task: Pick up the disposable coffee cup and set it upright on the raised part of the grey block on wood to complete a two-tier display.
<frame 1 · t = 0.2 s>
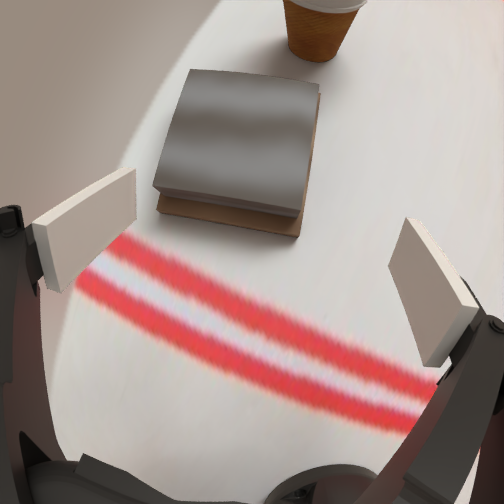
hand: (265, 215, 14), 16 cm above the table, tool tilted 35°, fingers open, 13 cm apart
grey block on wood: (243, 150, 31), on the table
disposable coffee cup: (312, 46, 33), on the table
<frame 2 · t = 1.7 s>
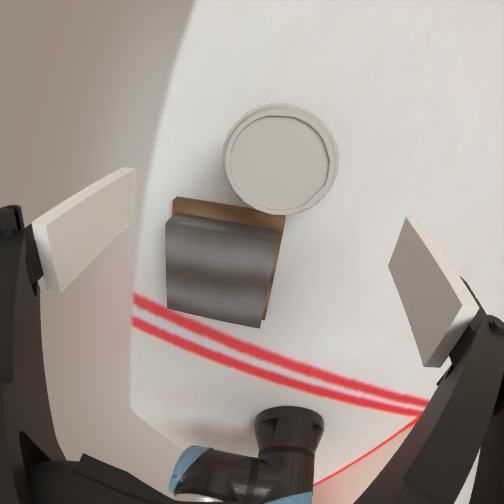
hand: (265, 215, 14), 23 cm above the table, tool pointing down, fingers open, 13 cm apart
grey block on wood: (224, 259, 42), on the table
disposable coffee cup: (286, 141, 34), on the table
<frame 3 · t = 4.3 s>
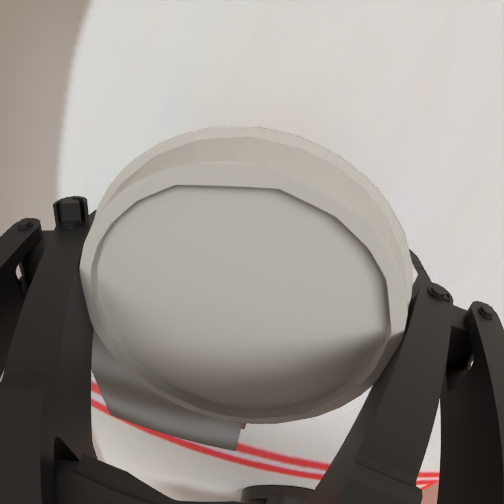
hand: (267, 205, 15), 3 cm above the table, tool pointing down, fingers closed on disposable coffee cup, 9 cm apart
grey block on wood: (181, 360, 27), on the table
disposable coffee cup: (272, 186, 18), on the table, touching gripper
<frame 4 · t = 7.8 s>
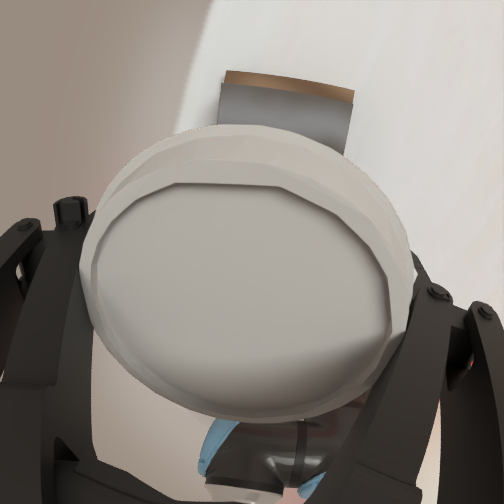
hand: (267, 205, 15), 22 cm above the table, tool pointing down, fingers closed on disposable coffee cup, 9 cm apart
grey block on wood: (280, 144, 35), on the table
disposable coffee cup: (273, 185, 18), point 19 cm above the table, touching gripper
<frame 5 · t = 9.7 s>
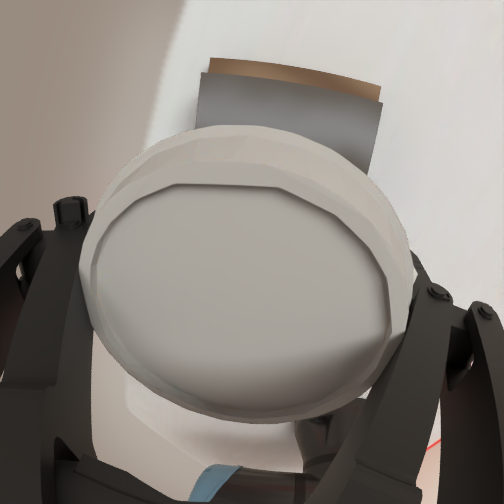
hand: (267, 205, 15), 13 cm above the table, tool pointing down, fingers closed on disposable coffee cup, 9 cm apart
grey block on wood: (282, 155, 26), on the table
disposable coffee cup: (272, 185, 18), point 10 cm above the table, touching gripper
when the fingers open (9 cm above the table, at t = 11.5 s): disposable coffee cup stays where it is, resting on grey block on wood.
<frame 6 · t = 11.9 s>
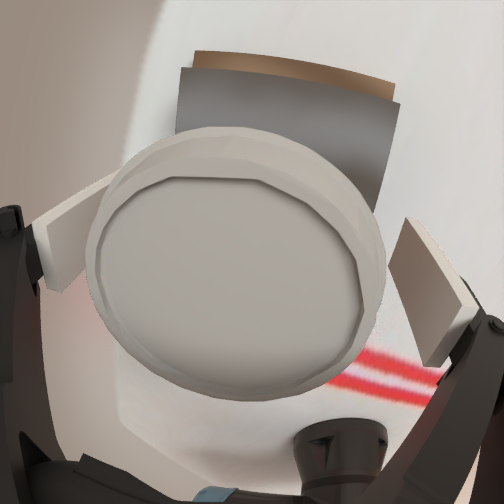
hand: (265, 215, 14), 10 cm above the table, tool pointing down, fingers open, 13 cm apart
grey block on wood: (279, 164, 23), on the table
disposable coffee cup: (265, 182, 19), point 5 cm above the table, touching grey block on wood
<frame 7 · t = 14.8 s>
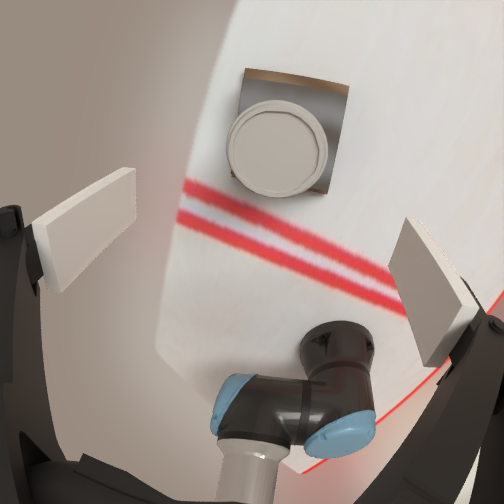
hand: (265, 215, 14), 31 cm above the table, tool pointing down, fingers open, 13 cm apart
grey block on wood: (288, 129, 41), on the table
disposable coffee cup: (283, 134, 37), point 5 cm above the table, touching grey block on wood
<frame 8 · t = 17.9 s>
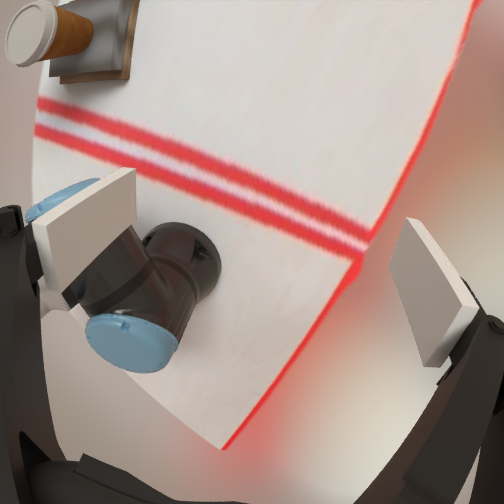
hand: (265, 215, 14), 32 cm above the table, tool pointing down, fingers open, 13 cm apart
grey block on wood: (99, 36, 36), on the table
disposable coffee cup: (79, 35, 32), point 5 cm above the table, touching grey block on wood
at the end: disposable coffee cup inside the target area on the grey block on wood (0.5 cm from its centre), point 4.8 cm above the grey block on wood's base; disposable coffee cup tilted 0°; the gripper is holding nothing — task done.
